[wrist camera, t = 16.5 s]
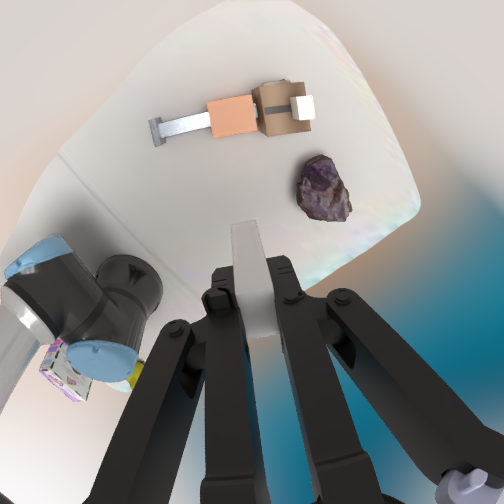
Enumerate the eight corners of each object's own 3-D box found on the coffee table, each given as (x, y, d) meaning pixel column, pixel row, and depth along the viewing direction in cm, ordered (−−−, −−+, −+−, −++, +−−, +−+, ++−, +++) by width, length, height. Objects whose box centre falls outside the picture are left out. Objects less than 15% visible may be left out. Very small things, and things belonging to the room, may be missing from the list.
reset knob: (292, 118, 34) (299, 120, 31) (289, 97, 32) (296, 96, 29) (307, 117, 34) (315, 118, 31) (304, 95, 32) (312, 95, 29)
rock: (326, 149, 47) (278, 174, 49) (342, 150, 39) (285, 180, 41) (352, 204, 51) (307, 228, 53) (371, 214, 43) (319, 244, 45)
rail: (160, 143, 43) (154, 146, 39) (154, 119, 41) (148, 120, 37) (263, 121, 43) (266, 123, 39) (259, 96, 41) (262, 96, 37)
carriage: (215, 132, 43) (213, 138, 35) (209, 103, 40) (206, 102, 33) (251, 125, 43) (257, 130, 35) (246, 96, 40) (251, 94, 33)
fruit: (134, 372, 71) (127, 405, 61) (122, 357, 68) (113, 392, 58) (154, 370, 71) (149, 405, 61) (143, 355, 68) (135, 391, 57)
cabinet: (258, 130, 44) (267, 136, 35) (251, 86, 40) (258, 81, 31) (293, 125, 44) (311, 131, 35) (287, 81, 40) (303, 76, 31)
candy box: (59, 325, 61) (37, 370, 47) (72, 321, 60) (50, 369, 46) (87, 357, 68) (72, 402, 53) (101, 355, 67) (87, 402, 53)
